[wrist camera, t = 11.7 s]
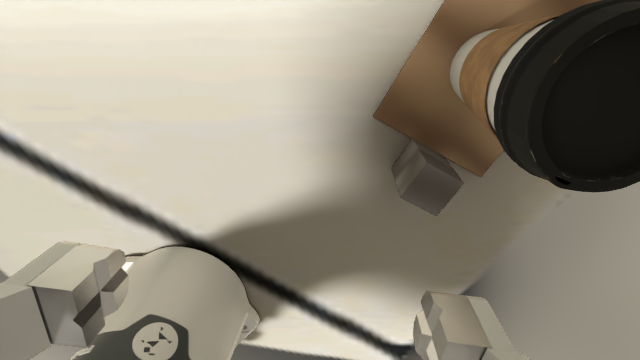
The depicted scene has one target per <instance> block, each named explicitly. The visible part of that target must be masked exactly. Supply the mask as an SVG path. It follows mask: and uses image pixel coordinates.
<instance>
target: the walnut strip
mask: <svg viewBox="0 0 640 360" xmlns="http://www.w3.org/2000/svg"><path fill="white" fill-rule="evenodd" d="M597 1H601V0H445V1H444V2H443V4H442V6H441V7H440V9H439V10H438V12H437V14H436V15H435V17H434V18H433V20H432V22H431V23H430V25H429V27H428V28H427V30H426V31H425V33H424V35H423V36H422V38H421V39H420V41H419V43H418V44H417V46H416V48H415V49H414V51H413V52H412V54H411V56H410V57H409V59H408V60H407V62H406V64H405V65H404V67H403V69H402V70H401V72H400V73H399V75H398V77H397V78H396V80H395V82H394V83H393V85H392V86H391V88H390V90H389V91H388V93H387V94H386V96H385V98H384V99H383V101H382V103H381V104H380V106H379V107H378V109H377V111H376V112H375V114H374V115H373V117H374V118H376V119H378V120H380V121H382V122H383V123H385V124H387V125H389V126H390V127H392V128H394V129H396V130H398V131H399V132H401V133H403V134H405V135H407V136H408V137H410V138H412V140H411V141H410V142H409V144H408V145H407V147H406V148H405V150H404V151H403V152H402V154H401V155H400V157H399V158H398V160H397V161H396V162H395V164H394V165H393V167H392V168H391V169H392V172H393V175H394V178H395V182H396V185H397V188H398V191H399V195H400V197H401V198H403V199H404V200H406V201H408V202H410V203H412V204H414V205H416V206H418V207H420V208H421V209H423V210H425V211H427V212H429V213H431V214H433V215H435V216H437V215H438V214H439V213H440V211H441V210H442V209H443V208H444V207H445V206H446V204H447V203H448V202H449V201H450V200H451V198H452V197H453V196H454V195H455V194H456V192H457V191H458V190H459V189H460V188H461V186H462V185H463V184H464V182H463V181H462V180H461V178H460V177H459V176H458V174H457V173H456V172H455V170H454V169H453V168H452V166H451V165H450V164H449V162H448V161H447V160H446V158H448V159H449V160H451V161H453V162H455V163H456V164H458V165H460V166H462V167H464V168H465V169H467V170H469V171H471V172H473V173H474V174H476V175H478V176H480V177H481V176H482V175H483V174H484V173H485V172H486V170H487V169H488V168H489V167H490V166H491V165H492V163H493V162H494V161H495V160H496V159H497V157H498V156H499V155H500V154H501V153H502V152H503V150H504V149H503V148H502V146H501V144H500V142H499V140H498V139H497V138H496V137H495V136H494V135H493V134H492V133H491V132H490V130H489V129H488V128H487V127H486V126H485V125H484V124H483V123H482V122H481V121H480V119H479V118H478V117H477V116H476V115H475V114H474V113H473V112H472V111H471V109H470V108H469V107H468V106H467V105H466V104H465V103H464V102H463V101H462V100H461V99H460V98H459V97H458V96H457V95H456V93H455V92H454V90H453V88H452V85H451V82H450V68H451V64H452V61H453V59H454V57H455V55H456V53H457V51H458V50H459V49H460V47H461V46H462V45H463V44H464V43H465V42H466V41H467V40H469V39H470V38H472V37H473V36H475V35H477V34H479V33H482V32H485V31H489V30H494V29H500V28H504V27H508V26H512V25H516V24H520V23H524V22H528V21H532V20H536V19H541V18H545V17H549V16H553V15H557V14H561V13H565V12H569V11H571V10H573V9H575V8H578V7H580V6H582V5H585V4H589V3H593V2H597ZM445 157H446V158H445Z"/></svg>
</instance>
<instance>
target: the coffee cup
mask: <svg viewBox="0 0 640 360" xmlns="http://www.w3.org/2000/svg"><path fill="white" fill-rule="evenodd" d="M450 82H451V85H452V88H453V90H454V92H455V93H456V95H457V96H458V97H459V98H460V99H461V100H462V101H463V102H464V103H465V104H466V105H467V106H468V107H469V108H470V109H471V111H472V112H473V113H474V114H475V115H476V116H477V117H478V118H479V119H480V121H481V122H482V123H483V124H484V125H485V126H486V127H487V128H488V129H489V130H490V132H491V133H492V134H493V135H494V136H495V137H496V138H497V139H498V140H499V142H500V144H501V146H502V148H503V149H504V151H505V152H506V153H507V154H508V156H509V157H510V158H511V159H512V160H513V161H514V162H516V163H517V164H518V165H519V166H520V167H521V168H523V169H524V170H526V171H527V172H529V173H530V174H532V175H535V176H537V177H540V178H543V179H546V180H548V181H550V182H551V183H553V184H554V185H555V186H557V187H560V188H563V189H568V190H575V191H582V192H605V191H612V190H617V189H621V188H624V187H627V186H630V185H632V184H634V183H637V182H639V181H640V0H601V1H597V2H593V3H589V4H585V5H582V6H580V7H578V8H575V9H573V10H571V11H569V12H565V13H561V14H557V15H553V16H549V17H545V18H541V19H536V20H532V21H528V22H524V23H520V24H516V25H512V26H508V27H504V28H500V29H494V30H489V31H485V32H482V33H479V34H477V35H475V36H473V37H472V38H470V39H469V40H467V41H466V42H465V43H464V44H463V45H462V46H461V47H460V49H459V50H458V51H457V53H456V55H455V57H454V59H453V61H452V64H451V68H450Z"/></svg>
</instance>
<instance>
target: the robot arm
mask: <svg viewBox="0 0 640 360" xmlns="http://www.w3.org/2000/svg"><path fill="white" fill-rule="evenodd" d="M421 304H422V307H423V310H422V311H420V312H419V313H417V314H416V318H415V321H414V328H413V338H414V345H415V349H416V352H417V353H418V354H419V355H420V356H421V357H422V358H423V360H530V359H529V358H528V357H526V356H525V355H524V354H523V353H519V352H516V351H515V349H514V348H513V346H512V344H511V342H510V341H509V339H508V337H507V335H506V333H505V331H504V330H503V328H502V326H501V325H500V323H499V321H498V319H497V317H496V315H495V314H494V312H493V310H492V308H491V307H490V305H489V303H488V301H487V300H485V299H484V298H483V297H474V296H465V295H464V296H462V295H455V294H447V293H439V292H431V291H426V292H425V293H424V295H423V297H422V300H421ZM259 321H260V318H259V315H258V314H257V312H256V311H255V310H254V309H253V307H252V306H251V305H250V304H249V302H248V299H247V295H246V291H245V288H244V286H243V284H242V282H241V280H240V279H239V277H238V276H237V275H236V274H235V272H234V271H233V270H232V269H231V268H230V267H229V266H227V265H226V264H225V263H223V262H222V261H221V260H219V259H217V258H216V257H214V256H212V255H210V254H208V253H205V252H203V251H200V250H196V249H192V248H187V247H166V248H161V249H158V250H155V251H153V252H151V253H149V254H146V255H143V256H128V257H125V254H124V252H123V251H121V250H119V249H114V248H107V247H101V246H95V245H89V244H80V243H74V242H67V241H63V242H59V243H56V244H55V245H54V246H52V247H51V248H49V249H48V250H47V251H45V252H44V253H43V254H41V255H40V256H39V257H37V258H36V259H34V260H33V261H32V262H30V263H29V264H28V265H26V266H25V267H24V268H22V269H21V270H19V271H18V272H17V273H15V274H14V275H13V276H11V277H10V278H9V279H7V280H6V281H4V282H3V283H0V360H30V359H31V358H33V357H35V356H36V355H38V354H39V353H41V352H43V351H44V350H46V349H47V348H49V347H50V346H51V344H55V345H65V346H75V347H82V348H81V349H80V350H79V352H77V353H76V354H75V355H74V356H73V357H72V358H71V360H230V359H231V356H232V353H233V351H234V349H235V346H237V345H238V344H239V343H240V342H241V341H242V340H243V339H245V338H246V337H247V336H248V335H249V334H250V333H251V332H252V331H253V330H254V329H255V328H256V327H257V325H258V323H259Z"/></svg>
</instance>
